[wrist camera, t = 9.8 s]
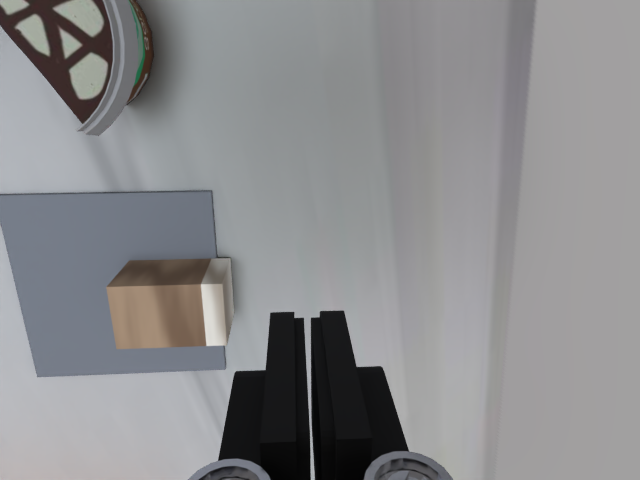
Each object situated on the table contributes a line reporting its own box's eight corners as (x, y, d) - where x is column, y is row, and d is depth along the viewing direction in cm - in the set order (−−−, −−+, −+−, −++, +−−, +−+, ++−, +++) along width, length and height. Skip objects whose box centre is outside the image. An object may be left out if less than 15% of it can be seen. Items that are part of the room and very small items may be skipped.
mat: (211, 190, 36) (210, 191, 36) (225, 366, 41) (225, 369, 41) (-3, 194, 35) (-7, 195, 35) (39, 374, 40) (37, 377, 40)
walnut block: (222, 283, 33) (106, 287, 32) (226, 345, 35) (116, 349, 34) (230, 258, 38) (129, 260, 37) (234, 313, 39) (137, 316, 39)
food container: (208, 75, 33) (177, 74, 24) (140, 123, 34) (84, 140, 25) (89, -99, 30) (-3, -181, 20) (15, -41, 30) (-107, -94, 21)
